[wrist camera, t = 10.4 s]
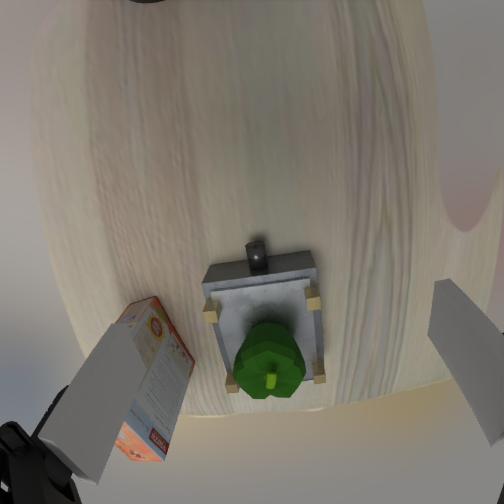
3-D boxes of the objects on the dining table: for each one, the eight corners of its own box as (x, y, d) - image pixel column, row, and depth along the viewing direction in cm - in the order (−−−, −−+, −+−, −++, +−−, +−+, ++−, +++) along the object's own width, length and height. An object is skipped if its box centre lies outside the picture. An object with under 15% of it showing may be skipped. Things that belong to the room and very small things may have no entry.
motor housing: (205, 245, 42) (189, 271, 33) (307, 229, 40) (317, 253, 32) (235, 363, 49) (229, 403, 40) (319, 353, 47) (327, 392, 39)
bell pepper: (283, 370, 41) (285, 424, 31) (229, 350, 40) (219, 404, 31) (314, 326, 38) (325, 379, 29) (255, 302, 37) (251, 354, 28)
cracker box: (127, 304, 46) (62, 391, 27) (157, 294, 45) (96, 388, 26) (167, 369, 50) (130, 462, 31) (196, 363, 49) (166, 463, 30)
